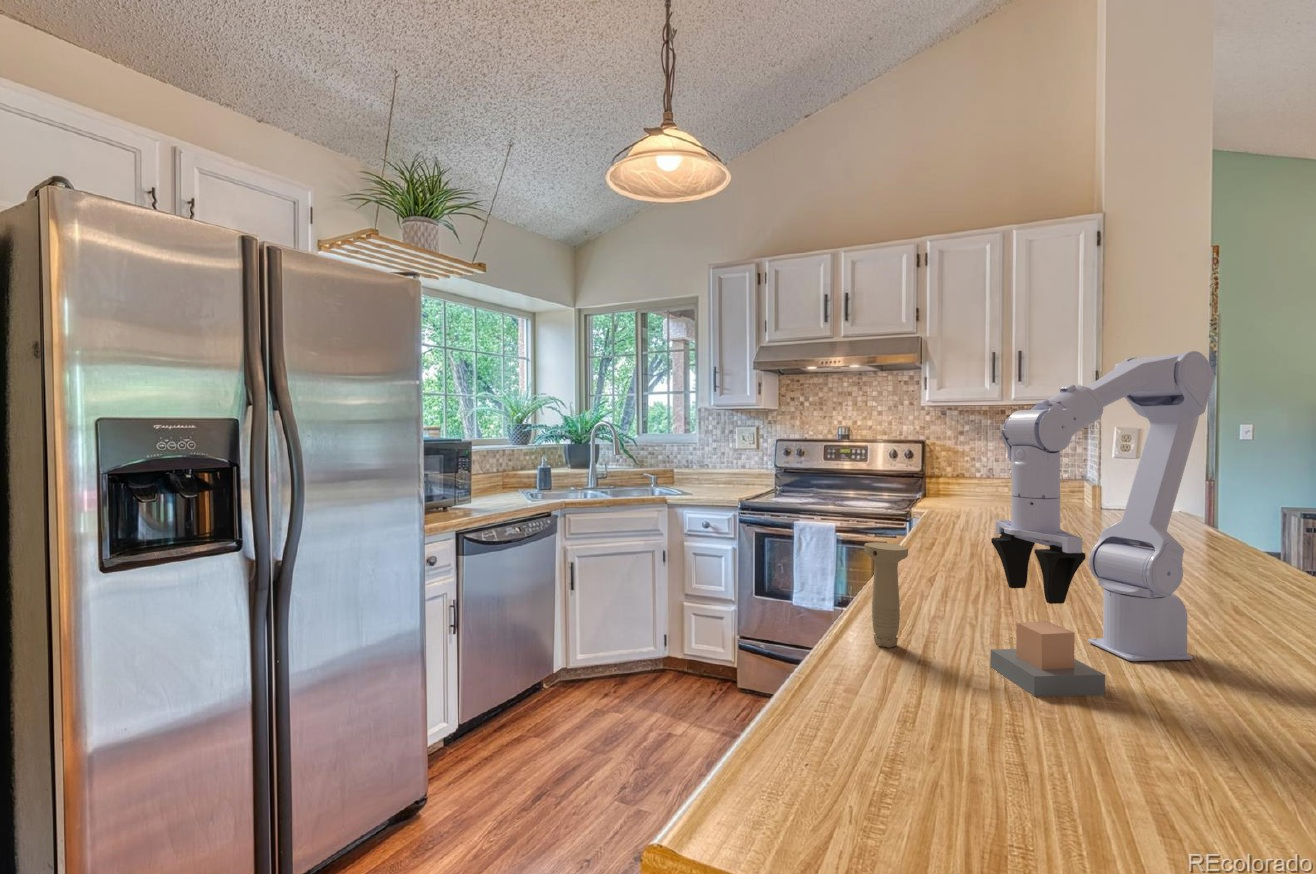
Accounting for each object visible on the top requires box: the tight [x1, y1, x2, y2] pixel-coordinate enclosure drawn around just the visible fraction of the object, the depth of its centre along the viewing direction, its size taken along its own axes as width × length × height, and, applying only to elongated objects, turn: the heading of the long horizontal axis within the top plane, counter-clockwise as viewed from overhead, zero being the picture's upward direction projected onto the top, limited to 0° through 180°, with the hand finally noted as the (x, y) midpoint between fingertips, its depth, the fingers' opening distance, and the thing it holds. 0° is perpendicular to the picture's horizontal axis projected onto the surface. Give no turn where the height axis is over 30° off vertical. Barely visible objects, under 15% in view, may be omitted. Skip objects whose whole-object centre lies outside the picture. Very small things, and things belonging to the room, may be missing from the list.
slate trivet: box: [990, 648, 1106, 697], centre depth 79 cm, size 9×9×3 cm
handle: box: [863, 541, 909, 649], centre depth 92 cm, size 5×6×15 cm
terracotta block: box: [1015, 620, 1075, 670], centre depth 79 cm, size 4×4×4 cm
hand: (1035, 595), depth 84 cm, fingers open, 7 cm apart
